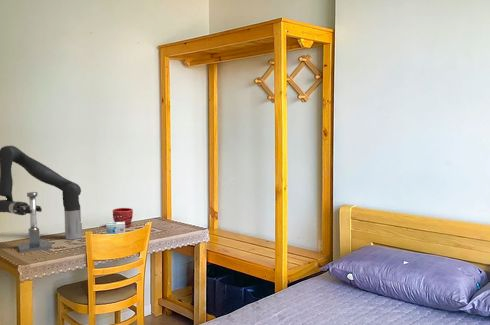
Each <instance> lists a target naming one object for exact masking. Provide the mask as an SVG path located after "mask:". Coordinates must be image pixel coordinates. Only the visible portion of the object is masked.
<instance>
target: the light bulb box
mask: <svg viewBox="0 0 490 325" xmlns="http://www.w3.org/2000/svg"><path fill="white" fill-rule="evenodd" d="M105 227H106V228H105V230H106V233H105V234H117V233H124V232H125V233H126V228H125V222H114V221H113V222H111V221H110V222H106V226H105Z"/></svg>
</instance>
